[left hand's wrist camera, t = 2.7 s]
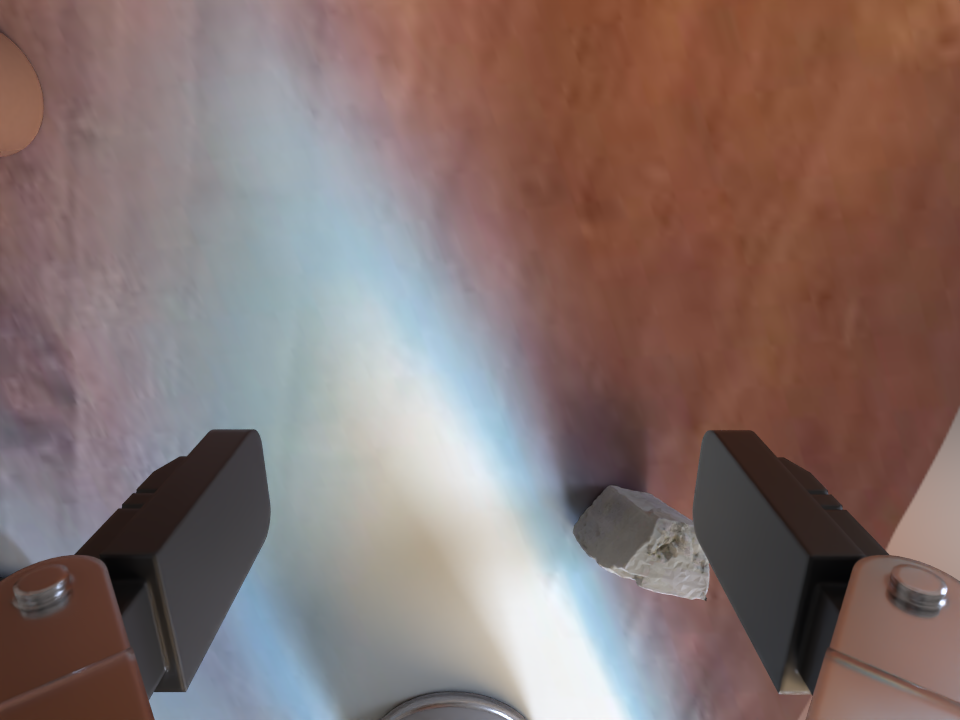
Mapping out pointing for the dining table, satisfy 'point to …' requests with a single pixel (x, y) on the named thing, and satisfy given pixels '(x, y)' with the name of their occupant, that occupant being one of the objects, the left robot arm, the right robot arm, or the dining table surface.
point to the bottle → (18, 99)
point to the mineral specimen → (644, 543)
